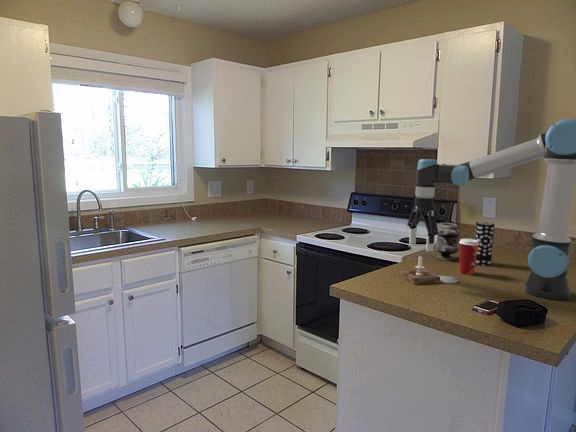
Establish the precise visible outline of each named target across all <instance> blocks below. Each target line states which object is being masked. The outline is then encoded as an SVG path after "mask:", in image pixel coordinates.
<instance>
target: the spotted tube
mask: <svg viewBox="0 0 576 432" xmlns="http://www.w3.org/2000/svg"><path fill="white" fill-rule="evenodd" d="M495 225H496V224H495V223H493V222H485V221H478V222H475V224H474V226H475V227H474V238H473V239H474V240H477V241H478V243H479V245H478V250H477V256H476V263H475V266H482V267H489V266H491V265H492V258H493V257H492V256H493V246H494V235H495Z"/></svg>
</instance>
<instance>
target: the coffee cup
mask: <svg viewBox="0 0 576 432" xmlns="http://www.w3.org/2000/svg"><path fill="white" fill-rule="evenodd" d="M458 243H459V265H458V266H459V273H460V274H462V275H474V274H475V269H476V264H475V263H476V256H477V250H478V245H479V243H478V241H477V240H474V238H460V241H459V242H458Z"/></svg>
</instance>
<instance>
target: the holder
mask: <svg viewBox="0 0 576 432" xmlns="http://www.w3.org/2000/svg"><path fill="white" fill-rule="evenodd" d="M416 273H417V268H416V269H401V270H399V277H401V278H403V279H404V280H405V281H407V282H409V283H411V284H412V285H426V284H427V283H428V284H440V283H441V282H440V277H439V276H440V275H437V274H436V273H433V272H431V271H429V270H427V269H425V268H423V269H422V273H423V276H417V275H416ZM428 284H427V285H428Z"/></svg>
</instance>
